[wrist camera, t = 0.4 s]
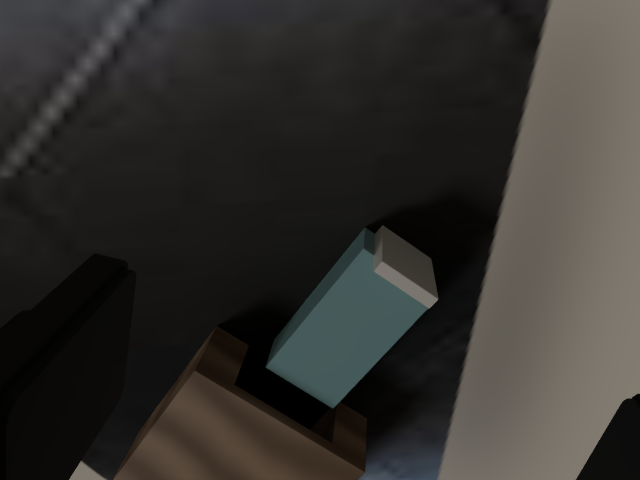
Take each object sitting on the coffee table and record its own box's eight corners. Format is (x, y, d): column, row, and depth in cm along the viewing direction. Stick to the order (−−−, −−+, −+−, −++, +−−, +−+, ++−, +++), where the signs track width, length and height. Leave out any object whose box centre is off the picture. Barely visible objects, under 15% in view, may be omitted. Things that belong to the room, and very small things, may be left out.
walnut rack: (216, 325, 50) (194, 370, 45) (367, 418, 53) (365, 472, 47) (140, 429, 57) (112, 480, 51) (278, 507, 60) (267, 564, 54)
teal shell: (372, 218, 44) (370, 253, 39) (440, 265, 46) (449, 306, 40) (273, 339, 50) (259, 386, 45) (336, 379, 52) (330, 429, 46)
